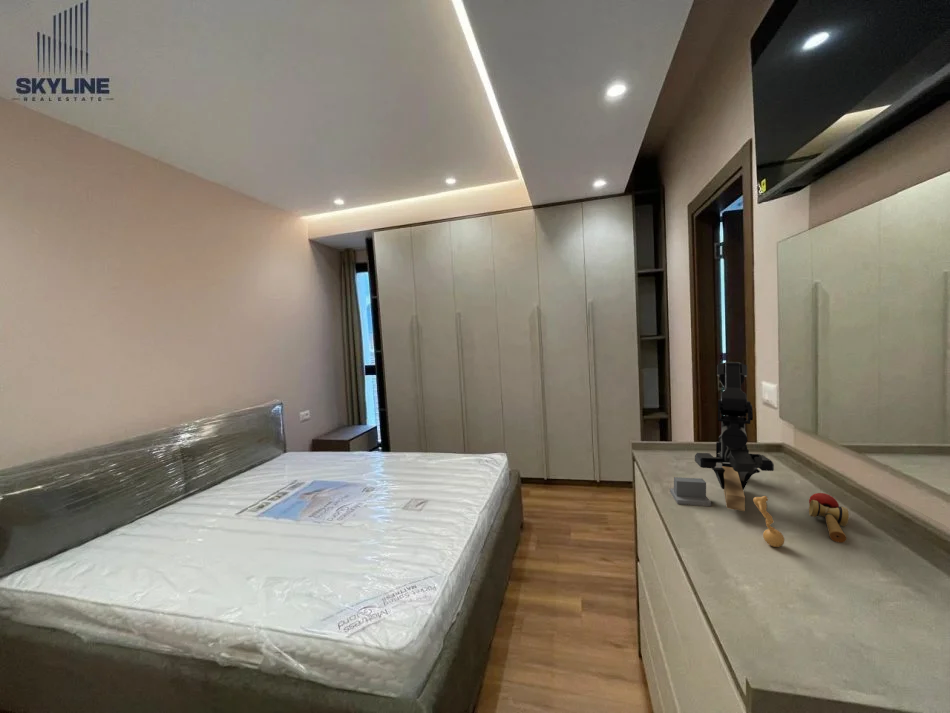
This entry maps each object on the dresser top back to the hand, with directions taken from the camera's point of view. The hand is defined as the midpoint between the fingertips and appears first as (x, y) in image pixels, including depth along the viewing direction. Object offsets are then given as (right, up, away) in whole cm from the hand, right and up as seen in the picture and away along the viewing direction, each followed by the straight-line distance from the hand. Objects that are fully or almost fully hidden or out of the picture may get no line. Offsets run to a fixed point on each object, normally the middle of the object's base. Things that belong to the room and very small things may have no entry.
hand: (732, 489), depth 109 cm
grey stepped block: (-11, -4, +3) cm, 12 cm away
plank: (0, -1, 0) cm, 1 cm away
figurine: (-6, -6, -21) cm, 22 cm away
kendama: (+16, -5, -14) cm, 21 cm away
